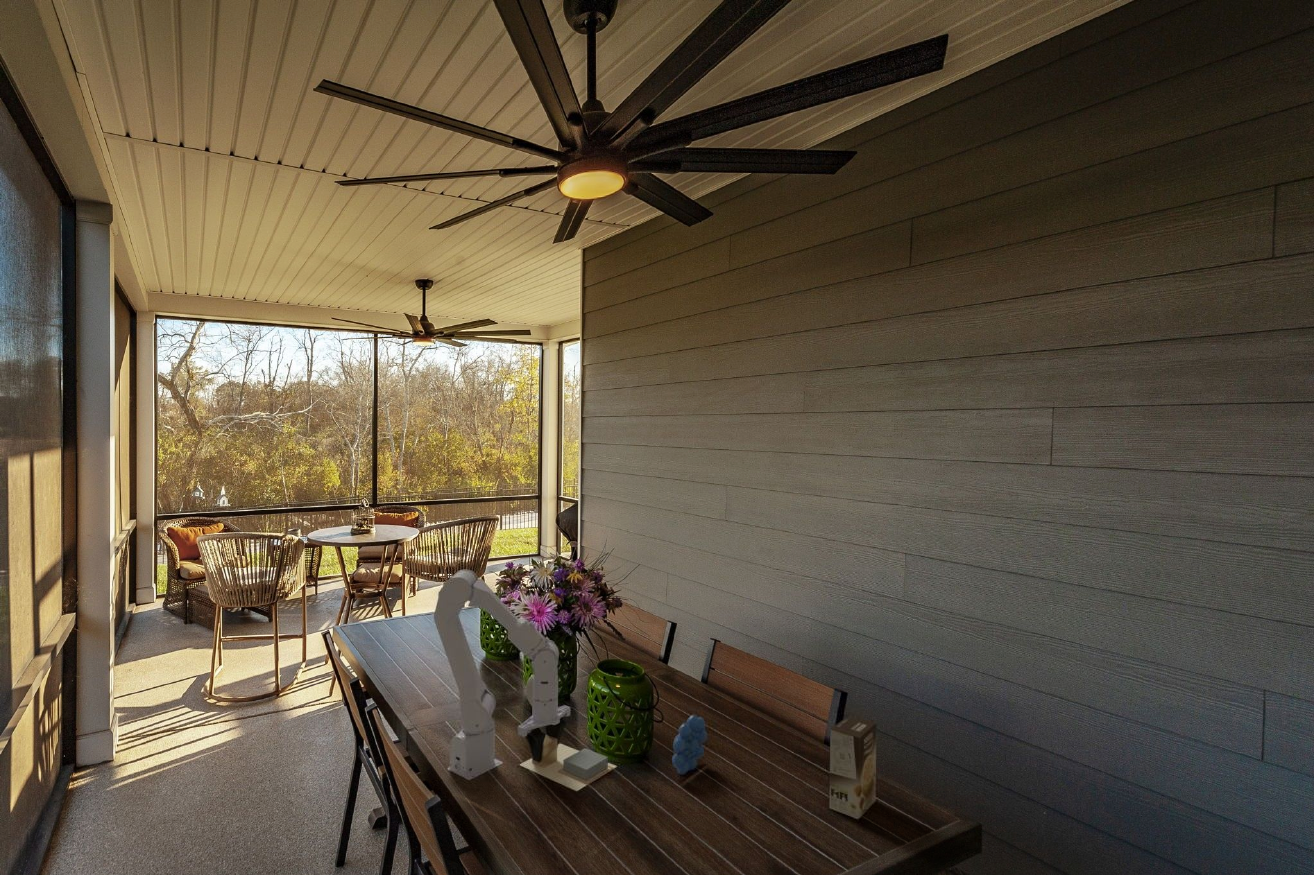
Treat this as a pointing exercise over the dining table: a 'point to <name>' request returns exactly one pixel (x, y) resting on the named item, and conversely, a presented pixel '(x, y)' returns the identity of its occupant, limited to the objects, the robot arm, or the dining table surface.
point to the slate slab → (585, 764)
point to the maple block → (548, 752)
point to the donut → (530, 690)
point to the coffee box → (852, 766)
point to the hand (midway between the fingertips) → (544, 756)
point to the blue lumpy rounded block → (689, 744)
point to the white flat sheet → (556, 769)
